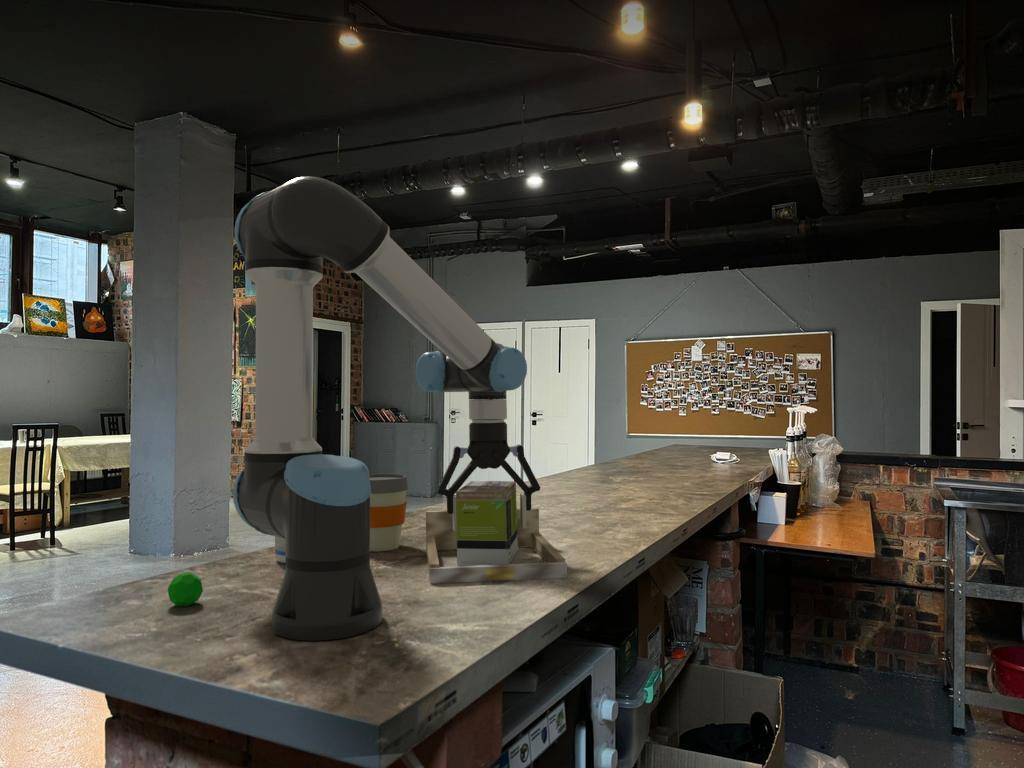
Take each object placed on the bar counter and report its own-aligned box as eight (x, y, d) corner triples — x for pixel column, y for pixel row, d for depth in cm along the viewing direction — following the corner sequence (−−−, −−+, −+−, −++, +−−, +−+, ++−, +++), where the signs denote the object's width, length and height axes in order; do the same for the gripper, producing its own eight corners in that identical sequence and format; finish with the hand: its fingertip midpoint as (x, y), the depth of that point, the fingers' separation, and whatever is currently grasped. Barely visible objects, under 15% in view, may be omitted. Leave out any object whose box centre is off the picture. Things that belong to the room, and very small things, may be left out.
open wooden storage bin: (430, 584, 120) (430, 537, 121) (425, 548, 148) (425, 510, 149) (567, 578, 124) (566, 532, 124) (537, 544, 152) (537, 507, 152)
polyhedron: (162, 610, 107) (162, 578, 107) (175, 600, 111) (175, 570, 112) (196, 609, 107) (196, 577, 107) (207, 600, 112) (207, 569, 112)
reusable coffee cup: (380, 555, 142) (380, 481, 143) (335, 549, 149) (335, 478, 149) (420, 544, 153) (419, 475, 153) (376, 538, 160) (376, 472, 160)
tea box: (471, 550, 147) (470, 479, 147) (518, 551, 146) (518, 480, 146) (455, 568, 132) (455, 489, 132) (508, 569, 131) (507, 489, 131)
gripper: (546, 419, 145) (547, 522, 145) (424, 421, 141) (425, 527, 141) (553, 420, 137) (555, 529, 137) (425, 423, 134) (426, 535, 134)
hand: (489, 528), depth 139 cm, fingers open, 13 cm apart
